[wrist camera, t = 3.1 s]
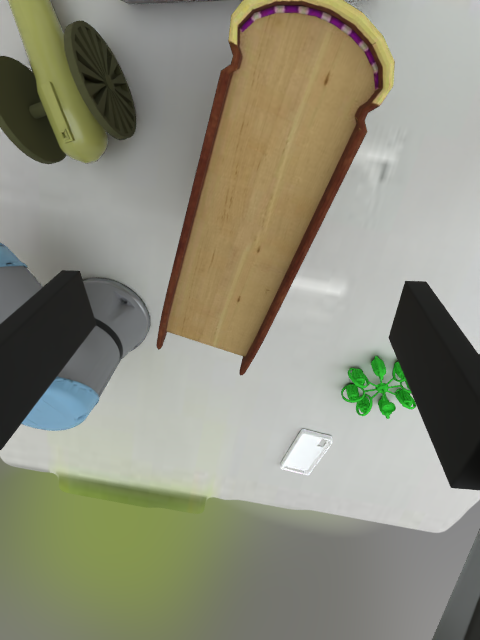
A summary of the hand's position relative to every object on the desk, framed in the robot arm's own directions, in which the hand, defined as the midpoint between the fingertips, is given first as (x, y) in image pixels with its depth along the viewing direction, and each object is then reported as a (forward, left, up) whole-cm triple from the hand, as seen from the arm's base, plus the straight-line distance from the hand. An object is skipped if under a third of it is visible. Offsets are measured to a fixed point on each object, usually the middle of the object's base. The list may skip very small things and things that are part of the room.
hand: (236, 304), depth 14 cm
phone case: (+11, -64, -38) cm, 75 cm away
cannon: (-24, +12, -38) cm, 47 cm away
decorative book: (0, 0, -38) cm, 38 cm away
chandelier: (+23, -40, -38) cm, 60 cm away
